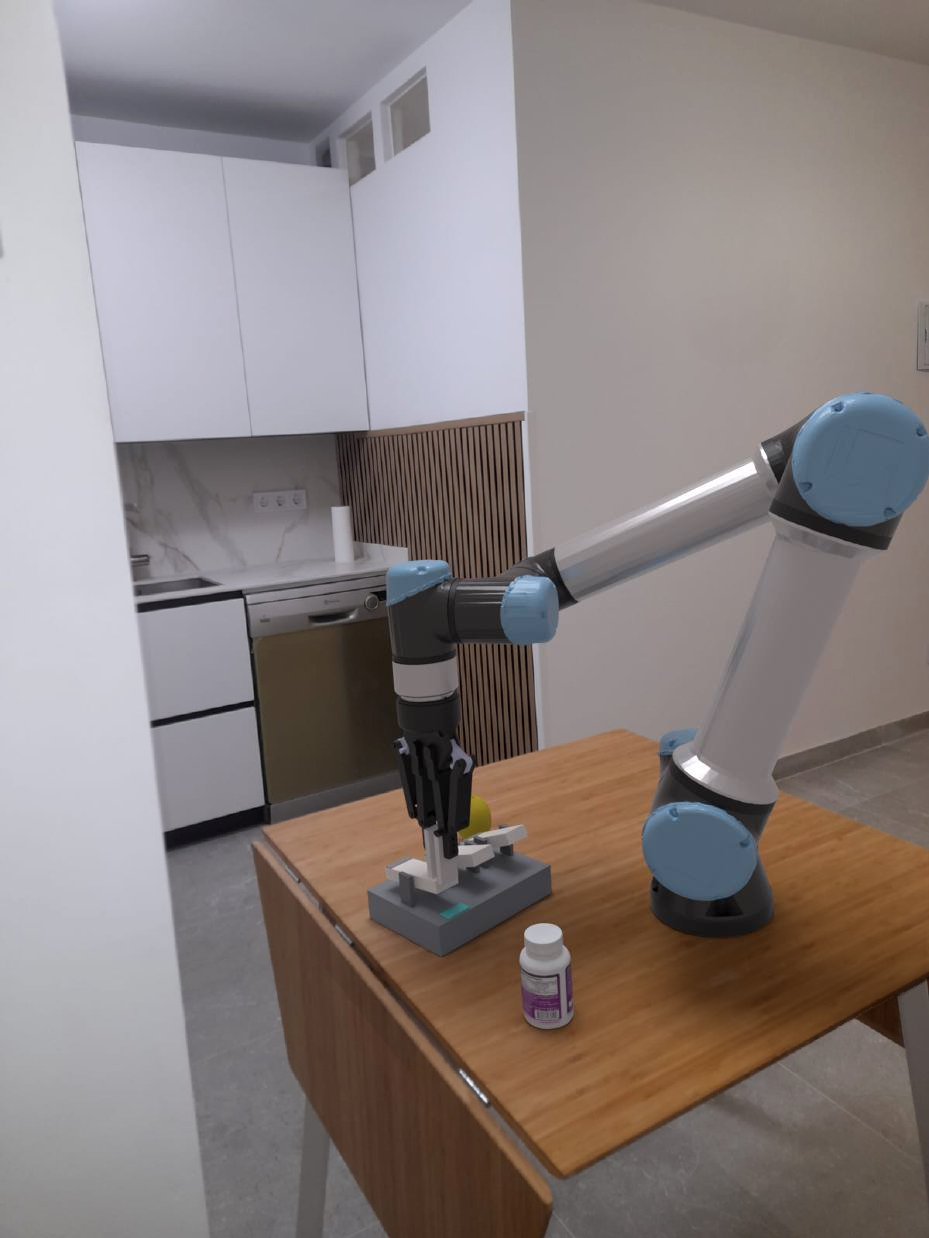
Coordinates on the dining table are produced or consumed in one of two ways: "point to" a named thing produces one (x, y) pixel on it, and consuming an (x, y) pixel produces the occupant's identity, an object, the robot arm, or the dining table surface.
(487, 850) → the rocker
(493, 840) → the rocker
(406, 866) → the rocker
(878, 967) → the dining table surface
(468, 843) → the console
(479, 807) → the lemon
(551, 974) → the pill bottle
